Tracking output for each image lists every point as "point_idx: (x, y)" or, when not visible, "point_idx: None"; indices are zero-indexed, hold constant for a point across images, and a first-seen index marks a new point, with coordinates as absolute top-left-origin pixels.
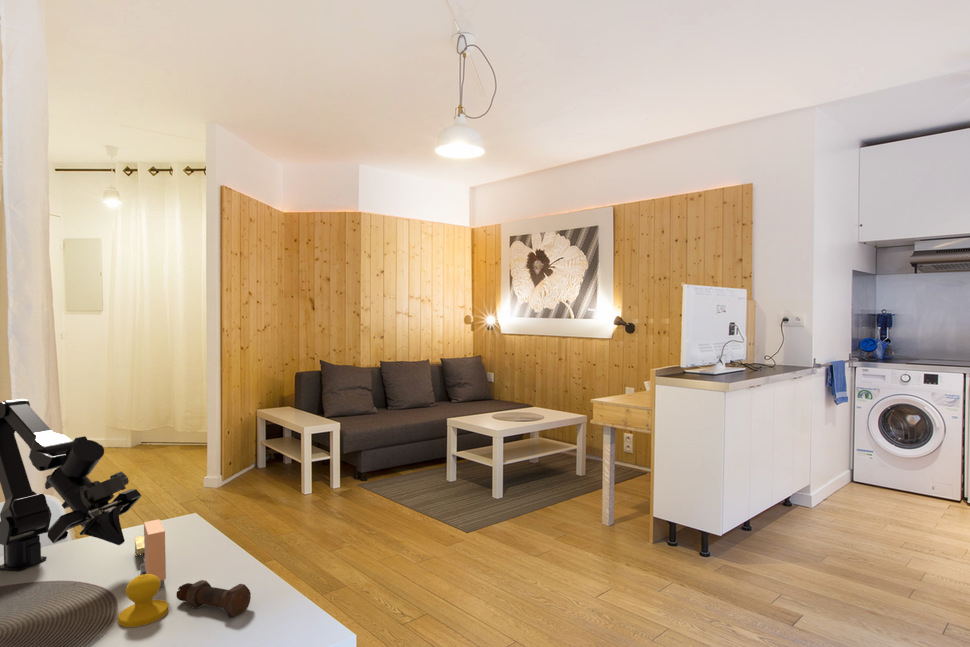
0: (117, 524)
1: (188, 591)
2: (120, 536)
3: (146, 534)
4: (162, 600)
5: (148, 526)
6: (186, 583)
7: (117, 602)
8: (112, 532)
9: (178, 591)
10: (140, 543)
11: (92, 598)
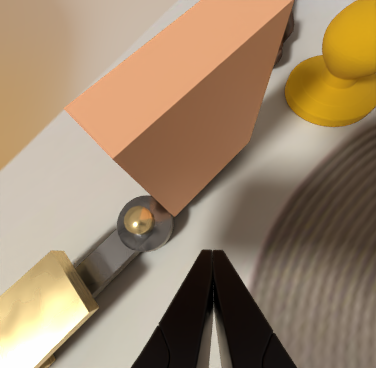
0: (174, 352)
1: (290, 17)
2: (211, 269)
3: (230, 77)
4: (293, 78)
5: (185, 77)
6: None
7: (304, 180)
8: (258, 311)
9: (281, 47)
10: (36, 343)
11: (309, 260)
